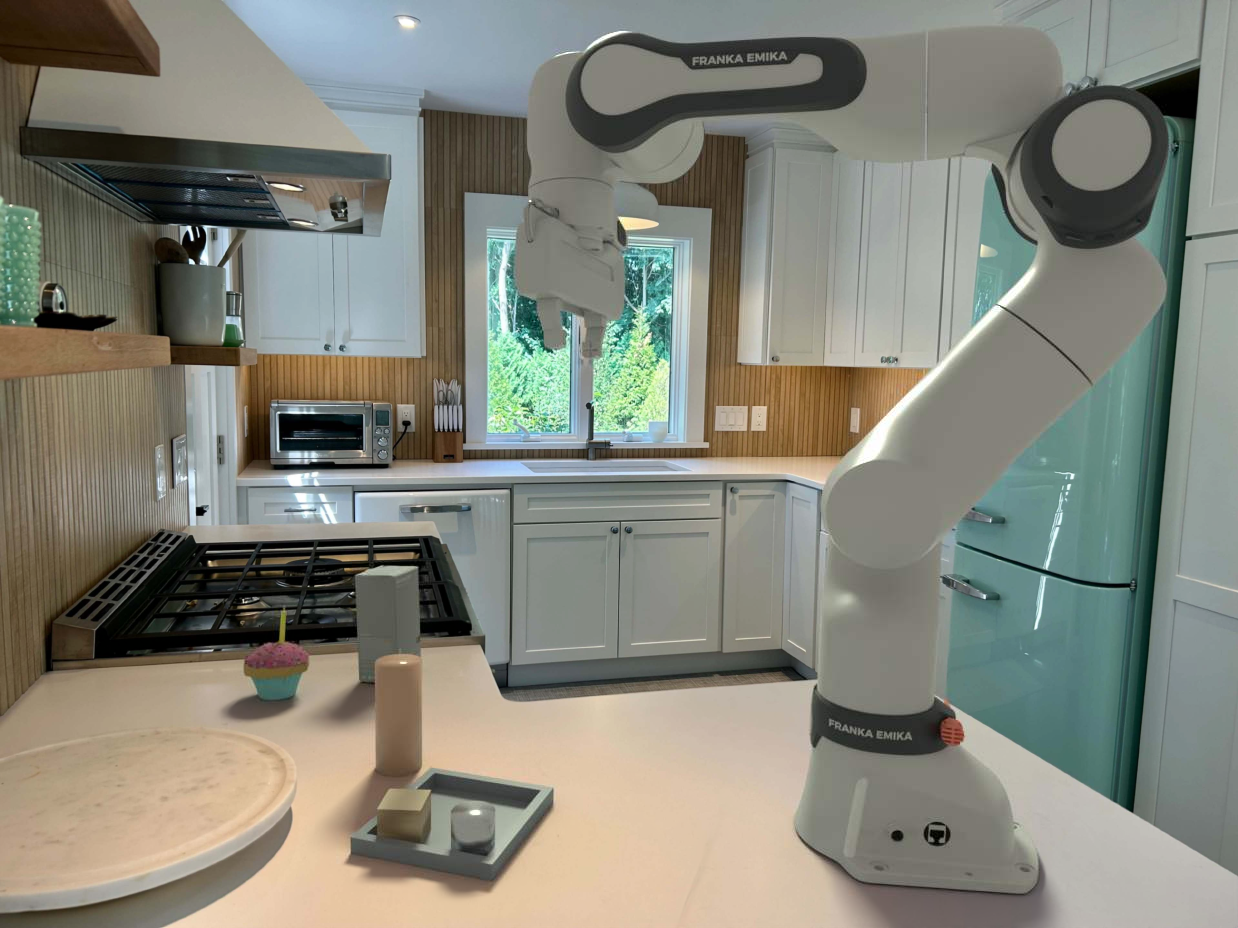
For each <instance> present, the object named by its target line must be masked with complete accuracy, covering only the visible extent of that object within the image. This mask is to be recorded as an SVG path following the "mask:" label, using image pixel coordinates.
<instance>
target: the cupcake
mask: <svg viewBox="0 0 1238 928" xmlns="http://www.w3.org/2000/svg"><path fill="white" fill-rule="evenodd" d="M280 613H281V614H280V622H279V623H280V624H279V625H280V626H279V639H278V641H277V642H273V643H272V642H267V643H263V644H261V645H259V646H258V647H257V648H256V649H254V650H252V652H250V653H249V654H248V655H246V657H245V659H244V660H243V661H244V663H243V674H244V676H245V677H248V678H249V677H250V679H251V680H252V682H253V684H254V687H255V690H256V693H257V695H258V697H259V698H260V700H261V699H262V700H265V701H281V700H285V699H288V698H291V697H293V696H294V695H295V694H296V692H297V689H298V686H299V683H300V680H301V677H302V675H303V673H305V672H307V671H308V669H309V667H310V658H309V657H310V652H307V650H306V649H305V648H304V647H302V646H301V645H299V644H295V643H291V642H289V641H285V639H286V638H285V637H286V623H287V622H286V620H287V611H286V605H285V604H284V605H283V608H282V610H281V612H280Z"/></svg>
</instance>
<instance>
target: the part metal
mask: <svg viewBox="0 0 1238 928" xmlns="http://www.w3.org/2000/svg"><path fill="white" fill-rule="evenodd" d="M494 847H495V807H494V806H493V805H492V804H490V803H488V802H484V801H468V802H463V803H460V804H458V805H456V806H455V807H454V808H453V809H452V810H451V850H455V851H460V852H466V853H471V854H476V855H482V856H487V855H488V854H489V853H490V852H491V850H492V849H493V848H494Z"/></svg>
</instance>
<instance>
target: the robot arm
mask: <svg viewBox="0 0 1238 928" xmlns="http://www.w3.org/2000/svg"><path fill="white" fill-rule="evenodd" d="M926 77H927V78H926ZM1063 82H1064V73H1063V64H1062V58H1061V55H1060V53H1059V49H1058V48H1057V46H1056V44H1055V42H1054V40H1053V39H1052V38H1051V37H1050V35H1048V34H1047V33H1046V32H1044V31H1042V30H1041V29H1038V28H1035V27H1029V26H1028V27H1027V26H1019V25H1018V26H1016V25H1013V26H1012V25H987V24H986V25H964V26H950V27H940V28H934V29H928V30H925V29H924V30H915V31H911V32H901V33H893V34H885V35H884V34H883V35H873V36H863V37H861V36H860V37H857V36H856V37H833V36H832V37H830V36H829V37H828V36H827V37H825V36H822V37H821V36H792V37H791V36H789V37H787V36H786V37H771V38H770V37H769V38H754V39H753V38H752V39H739V40H736V39H735V40H718V41H704V42H703V41H702V42H675V41H673V42H672V41H668V40H664V39H660V38H657V37H653V36H651V35H648V34H644V33H640V32H636V31H625V30H623V31H616V32H613V33H609V34H606V35H604V36H602V37H600V38H598V39H597V40H595V41H594V42H592V43H591V44H590V45H589V46H588V47H586V48H585V50H584V51H570V52H569V51H568V52H564V53H561V54H560V53H559V54H558V55H555V56H553V57H551V58H549V59H548V60H546V61H544V62H543V63H542V64H541V65H539V67H538V68H537V70H536V71H535V73H534V75H533V78H532V80H531V83H530V87H529V92H528V100H527V113H526V114H527V117H526V123H527V124H526V148H527V154H528V157H529V160H530V166H531V167H530V168H531V173H530V178H529V181H528V187H527V189H528V190H527V191H528V192H527V195H528V198H527V199H528V200H527V201H528V202H527V203H526V205H525V206H524V207H523V212H522V213H523V214H522V217H523V218H522V219H523V220H522V221H520V222H519V223H518V225H517V228H516V229H517V230H516V233H515V244H514V259H513V260H514V262H513V263H514V265H513V281H514V284H515V287H516V291H517V292H518V295H520V296H523V297H525V298H528V299H530V300H533V301H536V313H537V316H538V319H539V322H540V324H541V328H542V330H543V345H544V347H545V348H547V349H549V350H564V349H565V348H566V346H567V330H566V329H564V327H563V321H562V315H561V312H566V313H568V314H571V315H574V316H577V317H579V318H581V319H584V320H583V321H584V322H583V323H584V324H583V325H584V326H583V327H584V328H585V338H584V341H582V342H581V348H582V354H581V355H582V357H583V358H585V359H588V360H599V359H601V358H603V341H604V339H605V336H606V333H607V332H606V331H607V328H608V327H607V326H608V325H607V322H608V323H609V322H617V321H619V320H620V319H621V317H622V315H623V311H624V308H625V295H626V294H625V293H626V267H625V258H624V255H623V253H622V252H626V251H627V250H628V249H629V237H628V236H629V235H628V232H627V230H626V229H625V227H624V225H623V224H622V221H621V220H620V218H619V216H618V212H617V207H616V205H615V202H614V199H615V198H614V195H615V194H614V193H615V192H614V185H615V183H617V182H621V183H627V184H637V185H638V184H640V185H664V184H670V183H672V182H674V181H677V180H679V179H681V178H683V176H685V175H686V174H687V173H689V172H690V171H691V169H693V167H694V166H695V164H696V163H697V162H698V160H699V158H700V156H701V154H702V151H703V148H704V144H705V137H706V136H705V135H706V134H705V133H706V132H705V131H706V130H705V125H704V123H705V122H708V121H710V122H711V121H713V122H714V121H727V120H728V121H730V120H731V121H732V120H746V119H747V120H750V119H775V120H782V121H785V122H789V123H793V124H795V125H798V126H800V127H803V128H804V129H805V130H806V129H807V130H808V131H810V132H811V133H814V134H816V135H817V136H819V137H820V138H822V139H823V140H824V141H826V142H827V143H828V144H829V145H831V146H832V147H834V148H835V149H836V150H837V151H839V152H840V153H841V154H843V155H845V156H846V157H847V158H850V159H852V160H856V161H864V162H871V163H887V164H888V163H889V164H896V163H897V164H899V163H900V164H901V163H913V162H924V161H925V159H926V161H933V160H942V159H943V160H944V159H951V158H954V159H955V158H978V159H982V160H985V161H988V162H990V163H991V166H990V167H991V173H992V176H993V180H994V181H995V185H996V188H997V192H998V193H999V199H1000V201H1001V205H1002V206H1001V207H1002V209H1003V212H1004V214H1005V216H1006V219H1007V220H1008V222H1009V223H1010V225H1011V227H1012V228H1013V230H1014V231H1015V232H1016V233H1017V234H1018V235H1019V236H1020V237H1021V238H1023V239H1024V240H1025V241H1027V242H1028V243H1031V244H1033V245H1035V246H1036V247H1037V250H1036V253H1035V256H1034V259H1033V261H1032V262H1031V264H1030V266H1029V267H1028V269H1027V270H1026V272H1025V273H1024V274H1023V275H1022V276H1021V278H1020V279H1019V280H1018V281H1017V282H1016V283H1015V284H1014V285H1013V286H1012V287H1011V288H1010V289H1009V290H1008V291H1007V292H1006V293H1005V294H1004V295H1003V296H1002V297H1001V298H1000V299H999V300H998V301H997V302H996V303H995V305H993V306H992V307H991V308H990V309H988V310H987V312H986V313H985V314H984V315H983V316H982V317H981V318H980V319H979V320H978V321H977V322H976V323H975V324H974V325H973V326H972V327H971V328H970V329H969V330H968V331H967V332H966V333H965V334H964V335H963V336H962V337H961V338H960V339H959V340H958V341H957V342H956V343H955V344H954V345H953V346H952V347H951V348H950V350H948V352H946V353H945V355H943V357H941V359H939V361H937V362H936V363H935V365H934V366H932V367H931V369H930V370H928V372H927V373H925V375H924V376H923V377H922V378H921V379H920V380H919V381H918V382H917V383H916V384H914V386H913V387H912V388H911V389H909V391H908V392H907V393H906V394H905V395H904V397H902V399H900V401H898V403H896V404H895V406H894V407H892V409H890V411H889V412H888V413H887V414H886V415H885V416H883V417H882V419H881V420H880V421H879V422H878V423H877V424H876V425H875V426H874V427H873V428H872V429H871V430H870V431H869V432H868V433H867V434H866V435H865V436H864V437H863V438H862V439H861V440H860V441H858V443H857V444H856V445H855V446H854V447H853V448H852V449H850V450H849V451H848V452H847V453H845V455H844V456H843V457H842V458H841V460H840V461H838V463H837V464H836V466H835V467H834V468H833V469H832V470H831V472H830V474H829V475H828V477H827V478H826V480H825V483H824V486H823V488H822V492H821V497H820V514H821V515H820V516H821V520H822V524H823V527H824V529H825V531H826V533H827V544H826V545H827V546H826V555H825V564H824V565H825V567H824V577H823V578H824V579H823V586H822V587H823V588H822V597H821V604H820V616H819V617H820V618H819V639H818V656H817V657H818V662H817V682H816V683H815V685H814V686H813V690H812V695H811V697H810V705H809V707H810V708H809V728H808V729H809V731H808V732H809V734H808V736H809V735H810V737H809V740H810V744H811V752H810V757H809V763H808V768H807V769H808V770H807V775H806V777H805V778H806V779H805V783H804V787H803V791H802V794H801V798H800V801H799V804H798V807H797V809H796V812H795V814H794V818H793V824H794V828H795V830H796V832H797V834H798V835H799V836H800V838H801V839H802V840H803V841H804V842H805V843H806V844H808V846H810V847H811V848H813V849H814V850H815V851H817V852H819V853H821V854H822V855H825V857H828V858H830V859H832V860H833V861H835V862H837V863H838V864H839V865H840V866H841V867H842V868H843V869H844V870H845V871H846V872H847V873H848V874H850V876H852V877H853V878H855V879H856V880H858V881H860V882H862V883H863V882H864V883H868V884H882V885H884V884H885V885H893V886H895V885H896V886H897V885H898V886H906V887H907V886H909V887H924V888H935V889H936V888H937V889H951V890H963V891H964V890H965V891H977V892H993V893H1003V894H1005V893H1008V894H1027V893H1029V892H1030V891H1031V890H1033V889H1034V887H1035V886H1036V884H1037V883H1038V879H1039V877H1040V875H1039V874H1040V870H1039V869H1040V868H1039V867H1040V865H1039V863H1040V862H1039V855H1038V852H1037V848H1036V845H1035V843H1034V841H1033V839H1032V837H1031V836H1030V834H1029V832H1028V831H1027V830H1026V829H1025V827H1024V826H1022V824H1021V823H1020V822H1018V821H1017V820H1016V819H1015V818H1014V815H1013V811H1012V807H1011V806H1012V805H1011V801H1010V799H1009V796H1008V794H1007V793H1008V792H1007V791H1006V789H1005V788H1004V785H1003V783H1002V782H1001V780H1000V779H999V778H998V776H997V775H996V774H995V773H994V771H993V770H991V769H990V768H989V767H987V766H986V765H985V764H984V763H983V762H981V760H979V758H977V757H975V756H974V755H973V754H972V753H971V752H969V751H968V750H967V749H966V748H965V747H964V746H962V745H961V743H963V742H964V741H965V740H964V739H965V732H964V727H963V724H962V723H961V722H960V721H959V720H958V719H957V717H956V712H955V710H954V709H952V707H951V704H950V703H949V701H948V699H946V698H944V701H943V700H941V699H939V698H938V697H936V696H935V692H936V679H937V678H936V677H937V676H936V675H937V661H938V659H937V658H938V648H939V647H938V645H939V644H938V643H939V631H940V629H939V627H940V602H941V601H940V596H941V566H942V545H943V543H942V542H943V541H942V540H943V539H944V538H945V537H946V536H947V535H948V534H949V533H950V532H951V531H952V530H953V529H954V528H955V527H956V526H957V525H958V523H960V522H961V521H962V519H963V518H964V517H965V516H966V515H967V514H968V513H969V512H970V511H971V510H972V509H973V508H974V507H975V506H976V505H977V503H978V502H979V501H980V500H981V499H982V498H984V496H985V495H986V494H987V493H988V492H989V491H990V489H991V488H992V487H993V486H994V485H995V484H996V483H997V482H998V481H999V480H1000V478H1001V477H1002V476H1003V475H1004V474H1005V473H1006V472H1007V470H1009V469H1010V467H1011V466H1012V465H1013V464H1014V463H1015V461H1016V460H1017V459H1018V458H1019V457H1020V456H1021V455H1022V454H1023V453H1024V452H1025V451H1026V450H1027V449H1028V448H1029V447H1030V446H1031V445H1032V444H1033V443H1034V442H1035V441H1036V440H1037V439H1039V438H1040V436H1042V434H1043V433H1045V432H1046V431H1047V430H1048V429H1049V428H1050V427H1051V426H1052V425H1053V424H1055V422H1057V421H1058V420H1059V419H1060V418H1061V417H1062V416H1064V414H1065V413H1066V412H1068V410H1069V409H1071V407H1072V406H1074V404H1076V403H1077V402H1078V401H1079V400H1080V399H1081V398H1082V397H1083V396H1085V394H1086V393H1087V392H1089V390H1091V389H1092V387H1094V386H1095V385H1096V384H1097V383H1098V382H1099V381H1101V379H1102V378H1103V377H1104V376H1105V375H1106V374H1107V373H1108V372H1109V371H1110V370H1111V369H1112V368H1113V367H1114V366H1115V364H1117V362H1118V361H1119V360H1120V359H1122V357H1123V356H1124V354H1126V353H1127V351H1128V350H1129V349H1130V348H1131V347H1132V345H1134V343H1136V341H1137V339H1138V338H1139V337H1140V335H1142V333H1143V332H1144V331H1145V329H1146V328H1147V326H1148V325H1149V324H1150V322H1151V321H1152V320H1153V318H1154V317H1155V315H1156V314H1157V313H1158V311H1159V310H1160V308H1161V307H1162V305H1163V304H1164V301H1165V299H1166V296H1167V287H1168V286H1167V279H1166V275H1165V273H1164V271H1163V268H1162V266H1161V264H1160V263H1159V261H1158V260H1157V258H1156V257H1155V256H1154V254H1153V253H1152V252H1151V251H1150V250H1149V249H1148V248H1147V247H1145V246H1144V245H1143V244H1142V243H1141V242H1140V241H1139V240H1138V239H1137V237H1136V236H1137V235H1138V234H1139V233H1141V232H1142V231H1144V230H1145V229H1146V228H1147V227H1148V225H1149V223H1150V220H1151V217H1152V214H1153V210H1154V208H1155V207H1154V206H1155V204H1156V203H1155V202H1156V200H1157V196H1158V193H1159V190H1160V187H1161V184H1162V181H1163V179H1164V178H1163V177H1164V174H1165V172H1166V169H1167V168H1166V167H1167V163H1168V158H1169V152H1170V151H1169V149H1170V135H1169V129H1168V125H1167V122H1166V119H1165V117H1164V115H1163V114H1162V112H1161V110H1160V108H1159V107H1158V106H1157V104H1155V103H1154V102H1153V100H1151V99H1150V98H1149V97H1147V96H1146V95H1144V94H1143V93H1141V92H1140V91H1137V90H1135V89H1132V88H1130V87H1126V86H1122V85H1121V86H1120V85H1113V84H1111V85H1109V84H1107V85H1106V84H1103V85H1102V84H1101V85H1095V86H1090V87H1084V88H1082V89H1078V90H1077V91H1074V92H1072V93H1070V94H1068V95H1067V92H1066V91H1065V88H1064V85H1063ZM926 85H927V86H926Z"/></svg>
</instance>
